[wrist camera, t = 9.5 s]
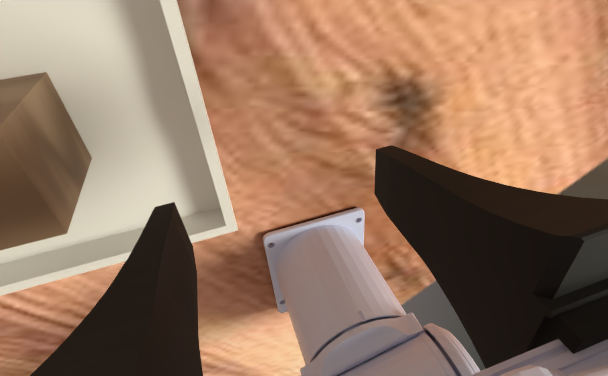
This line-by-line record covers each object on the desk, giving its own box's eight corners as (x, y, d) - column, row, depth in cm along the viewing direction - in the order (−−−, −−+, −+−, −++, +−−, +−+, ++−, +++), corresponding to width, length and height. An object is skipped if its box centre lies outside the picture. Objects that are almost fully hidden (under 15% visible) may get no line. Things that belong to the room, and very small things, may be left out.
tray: (232, 206, 23) (238, 230, 22) (-62, 282, 20) (-86, 319, 18) (148, -104, 14) (146, -110, 12) (-441, -57, 10) (-578, -55, 9)
